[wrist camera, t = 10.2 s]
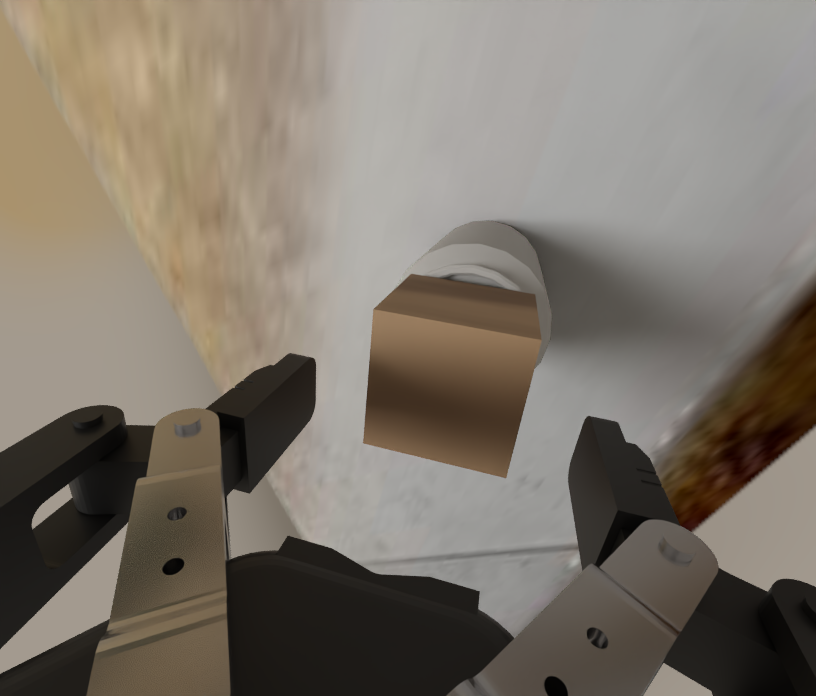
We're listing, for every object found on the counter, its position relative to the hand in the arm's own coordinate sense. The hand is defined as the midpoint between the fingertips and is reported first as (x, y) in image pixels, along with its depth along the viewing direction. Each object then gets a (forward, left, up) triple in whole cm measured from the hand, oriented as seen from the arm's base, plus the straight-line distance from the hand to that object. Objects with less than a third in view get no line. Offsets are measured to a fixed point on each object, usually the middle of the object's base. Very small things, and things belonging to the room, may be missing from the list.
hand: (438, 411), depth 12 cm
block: (0, 0, -6) cm, 6 cm away
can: (0, 0, -18) cm, 18 cm away
